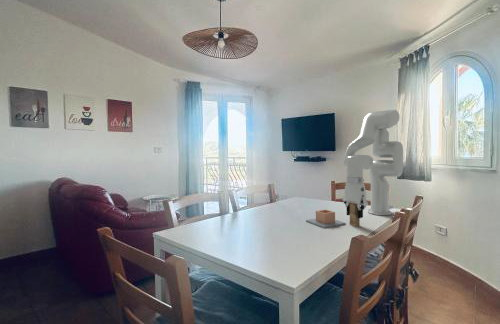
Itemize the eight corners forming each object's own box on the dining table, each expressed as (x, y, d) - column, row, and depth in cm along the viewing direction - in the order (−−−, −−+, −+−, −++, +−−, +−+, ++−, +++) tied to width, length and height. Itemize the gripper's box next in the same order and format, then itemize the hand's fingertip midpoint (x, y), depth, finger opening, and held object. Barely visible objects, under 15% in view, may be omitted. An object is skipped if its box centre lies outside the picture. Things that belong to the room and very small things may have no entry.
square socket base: (326, 218, 145) (326, 207, 145) (345, 224, 133) (345, 212, 133) (305, 221, 139) (305, 210, 139) (323, 228, 127) (323, 215, 127)
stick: (354, 223, 133) (354, 200, 133) (359, 225, 131) (359, 201, 130) (349, 224, 132) (349, 201, 132) (354, 226, 129) (354, 202, 129)
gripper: (374, 181, 124) (374, 219, 125) (347, 178, 140) (347, 212, 141) (363, 182, 121) (363, 221, 122) (336, 179, 137) (336, 213, 137)
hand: (354, 216), depth 131 cm, fingers open, 6 cm apart
